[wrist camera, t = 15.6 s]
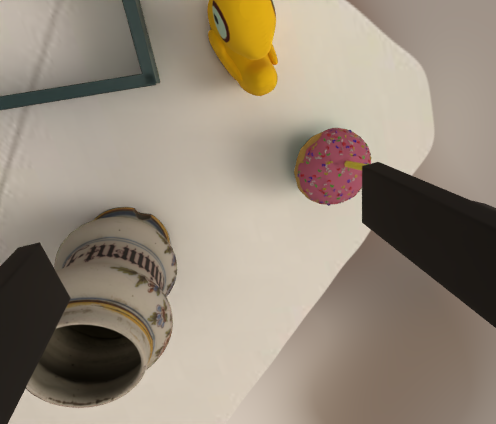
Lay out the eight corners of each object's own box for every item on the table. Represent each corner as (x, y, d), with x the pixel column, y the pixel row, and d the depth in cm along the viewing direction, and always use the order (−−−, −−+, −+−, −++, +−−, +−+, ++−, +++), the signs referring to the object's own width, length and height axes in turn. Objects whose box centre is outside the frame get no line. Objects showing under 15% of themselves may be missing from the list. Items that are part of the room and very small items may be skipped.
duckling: (181, -16, 28) (178, -61, 19) (233, -43, 27) (256, -101, 18) (234, 102, 33) (251, 112, 24) (278, 80, 32) (313, 81, 23)
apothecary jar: (190, 214, 37) (192, 320, 21) (163, 290, 41) (147, 430, 25) (85, 184, 33) (-12, 285, 17) (66, 272, 37) (-28, 421, 21)
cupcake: (294, 116, 34) (343, 134, 24) (359, 129, 36) (431, 151, 26) (277, 186, 38) (313, 230, 27) (337, 194, 40) (393, 238, 29)
